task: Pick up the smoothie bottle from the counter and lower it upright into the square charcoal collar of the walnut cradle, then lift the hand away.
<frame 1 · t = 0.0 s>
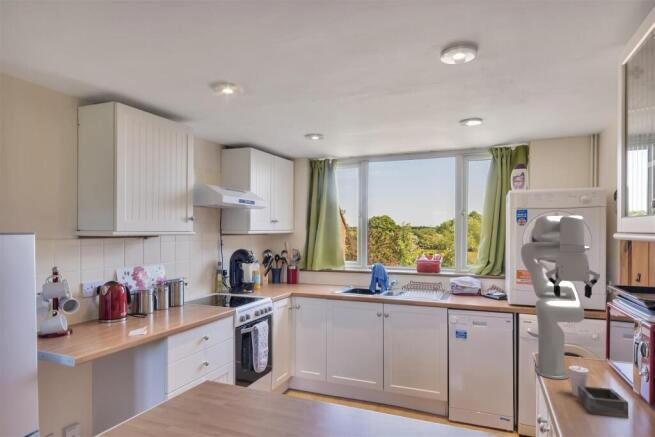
hand: (572, 296, 137), 37 cm above the counter, tool pointing down, fingers open, 9 cm apart
cradle: (602, 408, 129), on the counter
smoothie: (578, 395, 139), on the counter
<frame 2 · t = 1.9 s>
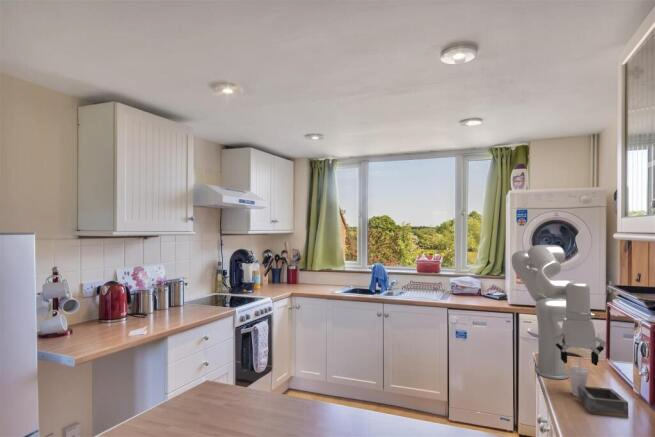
hand: (579, 363, 139), 12 cm above the counter, tool pointing down, fingers open, 9 cm apart
nothing on the counter moved.
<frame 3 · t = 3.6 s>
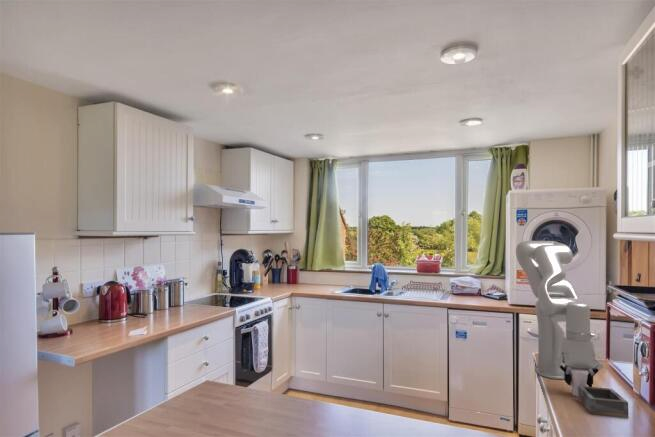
hand: (578, 384, 139), 4 cm above the counter, tool pointing down, fingers closed on smoothie, 6 cm apart
smoothie: (578, 395, 139), on the counter, touching gripper
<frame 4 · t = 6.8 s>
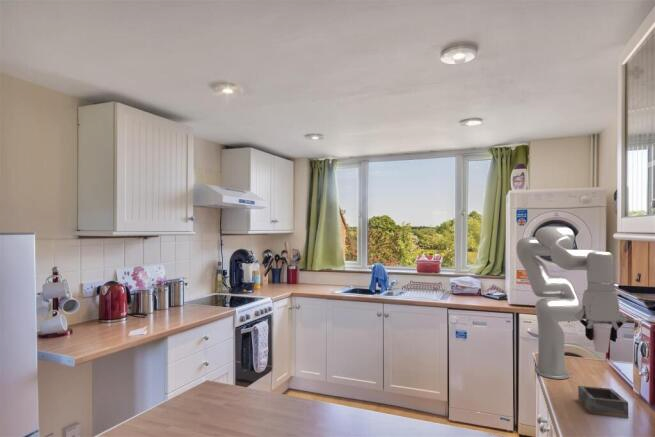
hand: (601, 339, 130), 23 cm above the counter, tool pointing down, fingers closed on smoothie, 6 cm apart
smoothie: (601, 351, 130), point 19 cm above the counter, touching gripper
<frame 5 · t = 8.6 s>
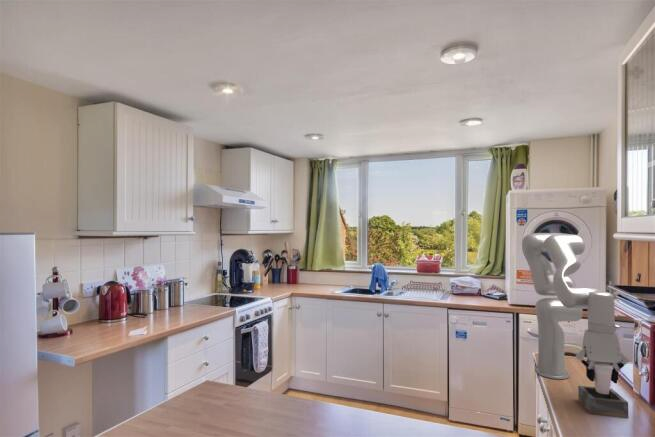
hand: (602, 380, 129), 10 cm above the counter, tool pointing down, fingers closed on smoothie, 6 cm apart
smoothie: (602, 392, 129), point 6 cm above the counter, touching gripper
when the fingers open (6 cm above the counter, at t = 10.1 s): smoothie drops 1 cm, resting on cradle.
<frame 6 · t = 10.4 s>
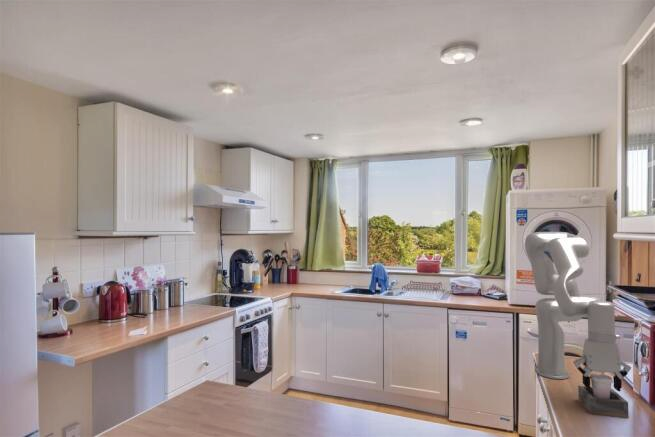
hand: (601, 388, 129), 7 cm above the counter, tool pointing down, fingers open, 8 cm apart
smoothie: (601, 405, 129), point 1 cm above the counter, touching cradle
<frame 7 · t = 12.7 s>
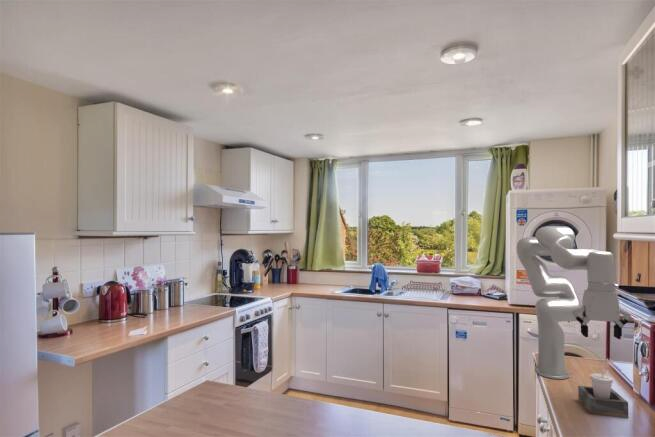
hand: (601, 337, 130), 24 cm above the counter, tool pointing down, fingers open, 9 cm apart
nothing on the counter moved.
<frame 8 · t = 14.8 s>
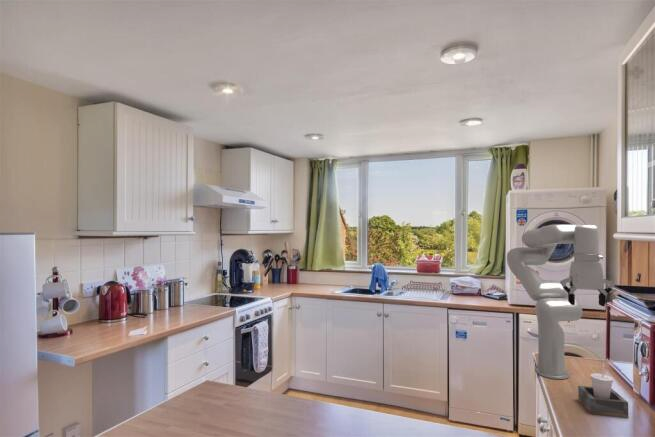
hand: (586, 304, 139), 33 cm above the counter, tool pointing down, fingers open, 9 cm apart
nothing on the counter moved.
at the end: smoothie 0.1 cm off-centre on the cradle, point 0.8 cm above the cradle's base; smoothie tilted 0°; the gripper is holding nothing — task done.
